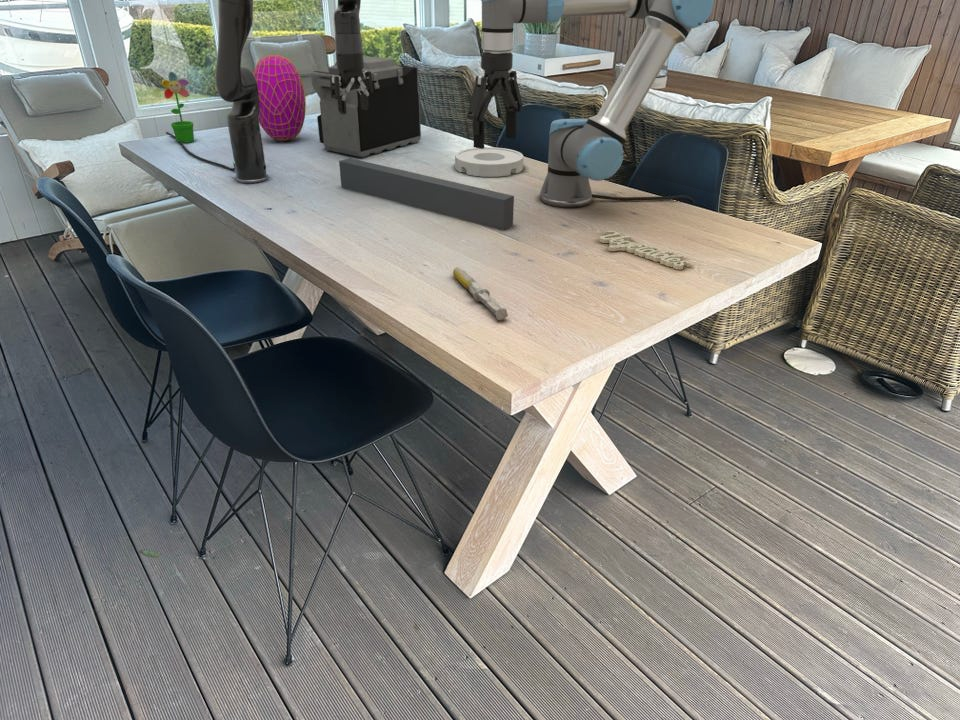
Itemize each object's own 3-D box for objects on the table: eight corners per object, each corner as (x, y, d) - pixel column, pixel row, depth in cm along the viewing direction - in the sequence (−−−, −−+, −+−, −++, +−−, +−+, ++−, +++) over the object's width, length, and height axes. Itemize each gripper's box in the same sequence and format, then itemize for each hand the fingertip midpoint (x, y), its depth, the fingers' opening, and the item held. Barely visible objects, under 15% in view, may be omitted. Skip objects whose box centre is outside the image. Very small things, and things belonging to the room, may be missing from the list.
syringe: (449, 274, 155) (449, 263, 153) (465, 272, 156) (464, 260, 154) (490, 323, 135) (491, 310, 133) (508, 319, 136) (508, 307, 134)
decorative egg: (293, 132, 276) (283, 50, 261) (319, 140, 264) (310, 56, 249) (249, 139, 265) (236, 54, 250) (273, 148, 253) (261, 60, 238)
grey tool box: (383, 133, 276) (378, 52, 261) (425, 141, 265) (422, 56, 250) (314, 150, 251) (304, 61, 235) (358, 160, 240) (350, 67, 224)
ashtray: (457, 158, 244) (457, 146, 242) (522, 159, 243) (522, 147, 241) (452, 176, 224) (452, 163, 222) (523, 177, 223) (524, 165, 221)
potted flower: (174, 144, 256) (159, 72, 244) (172, 140, 262) (157, 69, 250) (201, 142, 260) (187, 71, 247) (197, 137, 266) (184, 68, 253)
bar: (513, 225, 184) (514, 195, 179) (503, 230, 180) (504, 199, 176) (352, 184, 215) (349, 157, 211) (341, 187, 212) (338, 160, 208)
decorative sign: (585, 238, 173) (610, 229, 179) (584, 241, 173) (610, 233, 179) (673, 269, 156) (698, 259, 162) (672, 273, 156) (697, 262, 162)
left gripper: (358, 47, 198) (362, 106, 206) (320, 52, 188) (326, 113, 196) (376, 49, 194) (380, 109, 202) (339, 54, 184) (344, 117, 192)
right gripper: (513, 45, 173) (511, 132, 184) (451, 54, 156) (452, 149, 167) (538, 48, 170) (534, 136, 180) (477, 57, 152) (476, 154, 163)
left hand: (353, 111), depth 199 cm, fingers open, 8 cm apart
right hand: (495, 143), depth 174 cm, fingers open, 13 cm apart
